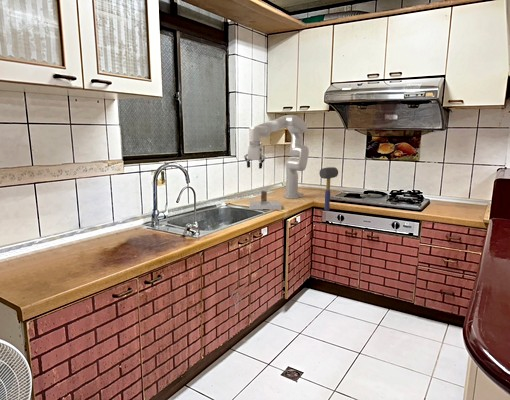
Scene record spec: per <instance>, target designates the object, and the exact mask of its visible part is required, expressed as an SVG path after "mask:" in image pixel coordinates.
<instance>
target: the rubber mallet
mask: <svg viewBox="0 0 510 400" xmlns="http://www.w3.org/2000/svg"><path fill="white" fill-rule="evenodd" d="M318 174H319V177H320V178H321V179H323V180H325V179H326V184H325V185H326V187H325V191H324V192H325V193H324V206H323V210H324V211H325V212H330V209H331V207H330V206H331V205H330V204H331V179H333V178H337V177H338V175H339V169H338V168H337V167H333V166H330V167H329V166H328V167H323V168H321V169H320V170H319V173H318Z"/></svg>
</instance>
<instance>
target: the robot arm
mask: <svg viewBox="0 0 510 400" xmlns="http://www.w3.org/2000/svg"><path fill="white" fill-rule="evenodd" d="M286 128H287V130H288V132H289V134H290V137H291V141H290V146H289V147H290V148H289V155H290V156H292V157H289V158H288V159H286V160H285V163H284V165H285V171H286V172H285V175H286V178H285V180H286V182H285V194H283V198H286V199H299V198H300V196H304V193H303V192H299V173H298V172H303V171H305V170H306V168H307V165H308V159H309V155H310V154H309V153H310V152H309V147H308V146H307V145H306V144H305V145H304V144H303V136H302V134H303V133H306V132H307V130H308V124H307V123H306V122H305V121H304V120H303V119H302V118H301V117H299V116H297V115H295V114H287V115H282V116H280V117H277V118H276V119H272V120H270V121H266V122H263V123H260V124H258V125H255V126H250V128H249V146H248V148H247V153H246V154H245V155H244V156H243V159H244V160H245V161H246V168H247V169H248V168H251V161H258V162H259V163H258V169H259V170H260V169H263V163H264V162H265V160H266V158H267V157H266V156H265V155H264V154H263V149H262V148H263V147H262V146H261V145H263V142H261V138H267V137H269V136H270V135H271V134H272V133H273V132H279V131H281V130H282V129H286Z"/></svg>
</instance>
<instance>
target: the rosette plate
mask: <svg viewBox="0 0 510 400" xmlns="http://www.w3.org/2000/svg"><path fill="white" fill-rule="evenodd" d="M248 204H249V205H248V206H249V207H248V208H249V210H263V209H278V211H279V210H280V211H281V210H282V203H281V201H278V200H276V201H275V200H267V201H261V200H249V201H248Z"/></svg>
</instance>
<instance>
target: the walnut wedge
mask: <svg viewBox="0 0 510 400" xmlns="http://www.w3.org/2000/svg"><path fill="white" fill-rule="evenodd" d="M267 194H268V192H267V190H260V201H268V197H267V196H268V195H267Z"/></svg>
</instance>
